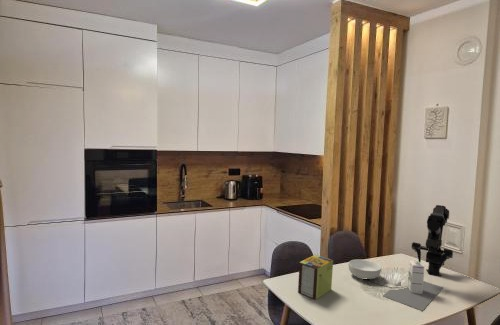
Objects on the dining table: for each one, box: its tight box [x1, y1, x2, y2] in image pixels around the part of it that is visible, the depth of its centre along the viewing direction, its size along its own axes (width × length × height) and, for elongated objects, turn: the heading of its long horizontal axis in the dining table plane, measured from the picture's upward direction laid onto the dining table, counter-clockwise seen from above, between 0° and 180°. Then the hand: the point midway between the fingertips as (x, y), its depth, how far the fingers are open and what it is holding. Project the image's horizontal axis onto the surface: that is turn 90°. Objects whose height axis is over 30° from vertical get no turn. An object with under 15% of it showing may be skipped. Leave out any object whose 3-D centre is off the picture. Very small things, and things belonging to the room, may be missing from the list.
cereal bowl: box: [348, 258, 382, 281], centre depth 179 cm, size 17×17×7 cm
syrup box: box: [408, 260, 425, 294], centre depth 164 cm, size 6×6×14 cm
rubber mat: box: [382, 280, 444, 312], centre depth 164 cm, size 34×18×1 cm, turn 136°
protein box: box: [297, 254, 334, 301], centre depth 160 cm, size 10×15×16 cm
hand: (429, 266), depth 167 cm, fingers open, 9 cm apart
